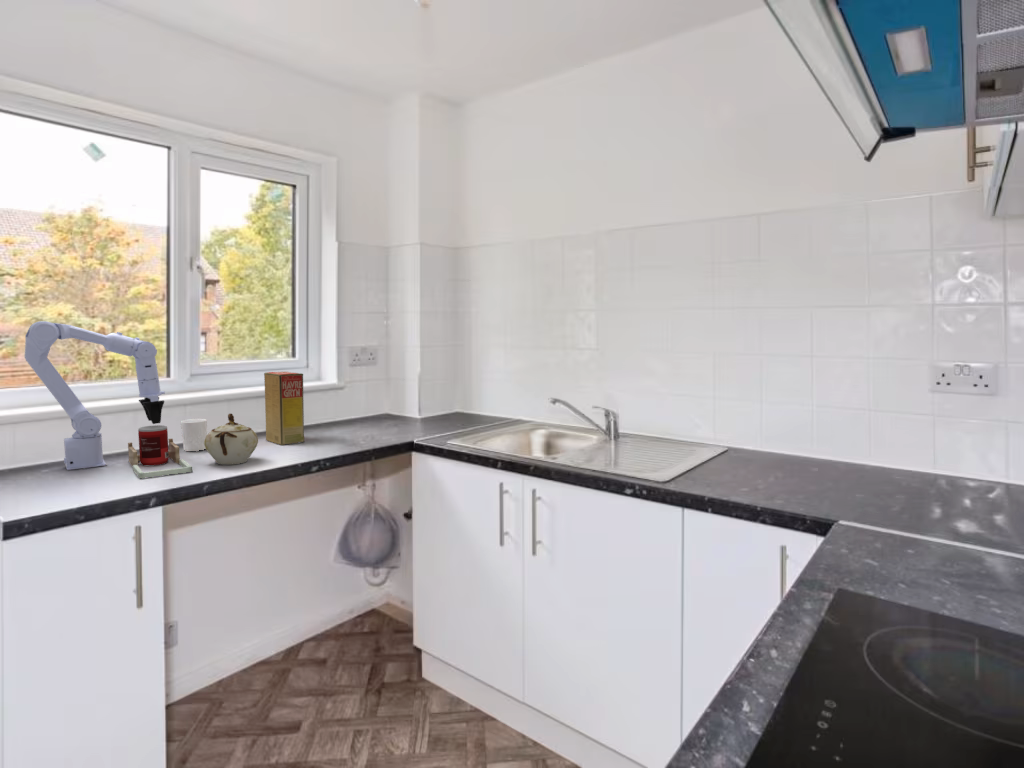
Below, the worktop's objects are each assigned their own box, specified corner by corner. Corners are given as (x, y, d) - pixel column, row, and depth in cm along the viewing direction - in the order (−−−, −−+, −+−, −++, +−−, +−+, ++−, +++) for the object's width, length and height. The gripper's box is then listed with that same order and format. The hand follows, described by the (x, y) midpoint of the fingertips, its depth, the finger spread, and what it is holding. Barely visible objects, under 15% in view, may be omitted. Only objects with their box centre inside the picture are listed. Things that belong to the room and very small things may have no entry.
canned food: (162, 459, 191) (161, 424, 190) (173, 462, 186) (171, 427, 185) (135, 463, 186) (133, 427, 184) (146, 467, 181) (144, 430, 179)
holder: (134, 468, 178) (133, 448, 178) (129, 462, 187) (127, 442, 186) (180, 463, 186) (179, 443, 185) (173, 457, 194) (172, 438, 194)
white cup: (188, 453, 200) (187, 423, 199) (177, 450, 205) (176, 420, 204) (212, 449, 206) (211, 420, 205) (201, 446, 211) (199, 418, 210)
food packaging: (306, 442, 220) (304, 373, 218) (280, 445, 213) (278, 374, 211) (289, 437, 229) (287, 371, 227) (264, 440, 223) (262, 372, 220)
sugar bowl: (216, 456, 196) (215, 409, 195) (265, 454, 199) (264, 409, 197) (195, 470, 177) (192, 419, 175) (249, 468, 179) (247, 418, 178)
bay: (139, 479, 166) (139, 473, 166) (133, 470, 176) (132, 465, 176) (192, 472, 174) (192, 467, 174) (183, 464, 185) (183, 459, 184)
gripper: (166, 379, 188) (172, 422, 190) (158, 376, 199) (164, 416, 201) (140, 382, 183) (147, 426, 185) (133, 378, 195) (139, 420, 197)
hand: (154, 421), depth 193 cm, fingers open, 7 cm apart
